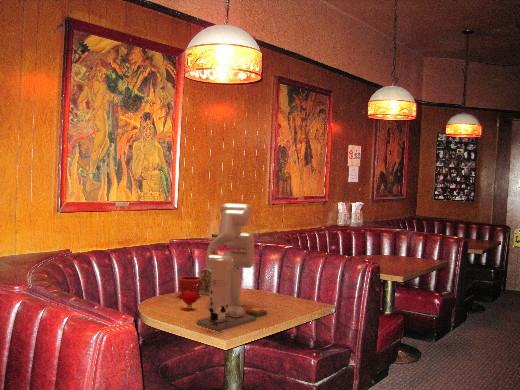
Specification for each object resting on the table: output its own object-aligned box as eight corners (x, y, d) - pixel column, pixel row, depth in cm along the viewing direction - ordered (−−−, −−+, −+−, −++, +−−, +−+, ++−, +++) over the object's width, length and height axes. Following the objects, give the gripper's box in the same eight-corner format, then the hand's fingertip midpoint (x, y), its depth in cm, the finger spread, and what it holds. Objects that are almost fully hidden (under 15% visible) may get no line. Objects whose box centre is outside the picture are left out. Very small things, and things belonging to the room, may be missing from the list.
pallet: (196, 325, 252) (197, 320, 252) (233, 315, 272) (233, 310, 272) (219, 332, 241) (219, 327, 241) (255, 322, 261) (256, 317, 261)
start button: (250, 313, 272) (250, 309, 271) (255, 312, 275) (255, 307, 275) (256, 315, 269) (256, 310, 269) (261, 314, 272) (262, 309, 272)
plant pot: (204, 298, 306) (205, 278, 305) (184, 301, 299) (185, 280, 298) (195, 293, 317) (195, 274, 316) (175, 296, 310) (176, 276, 309)
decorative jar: (212, 296, 311) (213, 267, 310) (199, 293, 319) (200, 264, 318) (226, 293, 320) (226, 265, 319) (213, 290, 328) (213, 262, 327)
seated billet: (229, 319, 261) (229, 307, 261) (235, 317, 265) (236, 305, 265) (236, 321, 258) (236, 309, 258) (242, 319, 262) (243, 307, 261)
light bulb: (199, 308, 282) (200, 291, 282) (193, 311, 276) (193, 293, 276) (185, 306, 286) (186, 288, 286) (178, 309, 280) (179, 291, 279)
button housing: (245, 316, 271) (245, 310, 271) (255, 313, 277) (255, 307, 277) (256, 319, 266) (256, 313, 266) (266, 316, 272) (266, 310, 272)
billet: (210, 324, 251) (211, 312, 251) (217, 322, 255) (218, 310, 255) (217, 326, 248) (218, 314, 248) (225, 324, 252) (225, 312, 252)
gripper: (211, 286, 242) (210, 324, 243) (236, 281, 255) (235, 317, 256) (200, 284, 247) (199, 320, 247) (226, 279, 260) (224, 314, 260)
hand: (218, 318), depth 252 cm, fingers open, 6 cm apart
